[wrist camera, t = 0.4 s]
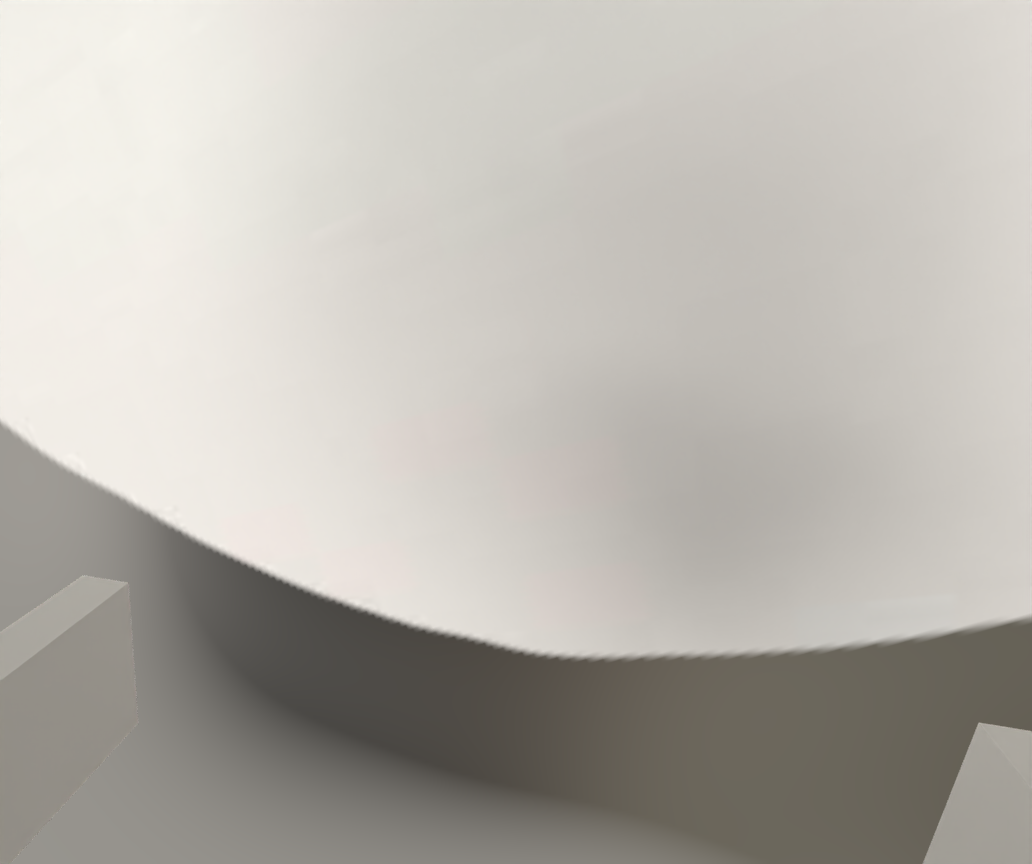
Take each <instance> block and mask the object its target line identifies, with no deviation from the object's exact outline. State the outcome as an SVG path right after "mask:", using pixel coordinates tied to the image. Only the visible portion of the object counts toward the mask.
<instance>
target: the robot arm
mask: <svg viewBox="0 0 1032 864" xmlns="http://www.w3.org/2000/svg"><path fill="white" fill-rule="evenodd" d="M137 724H138V713H137V698H136V684H135V669H134V656H133V640H132V626H131V612H130V596H129V583H127V582H121V581H115V580H108V579H103V578H97V577H91V576H84V575H83V576H81V577H80V578H79V579H77V580H76V581H74V582H73V583H71V584H70V585H68V586H67V587H66V588H64V589H62V590H61V591H60V592H58V593H57V594H55V595H54V596H52V597H51V598H49V599H48V600H46V601H45V602H43V603H42V604H41V605H39V606H38V607H36V608H35V609H33V610H32V611H30V612H29V613H27V614H26V615H24V616H23V617H21V618H20V619H19V620H17V621H16V622H14V623H13V624H11V625H10V626H8V627H7V628H5V629H4V630H3V631H2V632H0V864H10V863H11V862H12V861H13V860H14V859H15V858H16V857H17V856H18V854H19V853H20V852H21V851H22V850H23V849H24V848H25V847H26V846H27V845H28V844H29V842H30V841H31V840H32V839H33V838H34V837H35V836H36V835H37V834H38V833H39V831H40V830H41V829H42V828H43V827H44V826H45V825H46V824H47V823H48V822H49V821H50V819H51V818H52V817H53V816H54V815H55V814H56V813H57V812H58V811H59V810H60V809H61V807H62V806H63V805H64V804H65V803H66V802H67V801H68V800H69V799H70V797H71V796H72V795H73V794H74V793H75V792H76V791H77V790H78V789H79V788H80V787H81V786H82V784H83V783H84V782H85V781H86V780H87V779H88V778H89V777H90V776H91V775H92V773H93V772H94V771H95V770H96V769H97V768H98V767H99V766H100V765H101V764H102V762H103V761H104V760H105V759H106V758H107V757H108V756H109V755H110V754H111V753H112V752H113V751H114V749H115V748H116V747H117V746H118V745H119V744H120V743H121V742H122V741H123V740H124V738H125V737H126V736H127V735H128V734H129V733H130V732H131V731H132V730H133V729H134V728H135V726H136V725H137ZM923 864H1032V731H1027V730H1021V729H1015V728H1009V727H1003V726H997V725H991V724H985V723H978V726H977V728H976V731H975V733H974V736H973V738H972V741H971V743H970V746H969V748H968V751H967V754H966V756H965V759H964V761H963V764H962V766H961V769H960V771H959V774H958V776H957V779H956V781H955V784H954V786H953V789H952V791H951V794H950V796H949V799H948V801H947V804H946V807H945V809H944V812H943V814H942V817H941V819H940V822H939V824H938V827H937V829H936V832H935V834H934V837H933V840H932V842H931V844H930V847H929V849H928V852H927V855H926V857H925V859H924V862H923Z"/></svg>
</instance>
